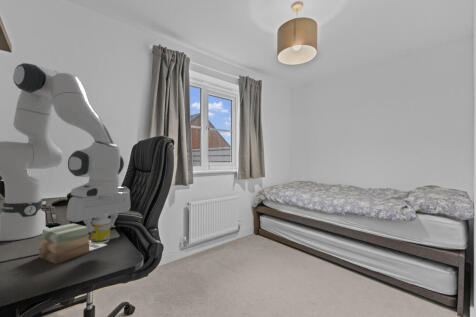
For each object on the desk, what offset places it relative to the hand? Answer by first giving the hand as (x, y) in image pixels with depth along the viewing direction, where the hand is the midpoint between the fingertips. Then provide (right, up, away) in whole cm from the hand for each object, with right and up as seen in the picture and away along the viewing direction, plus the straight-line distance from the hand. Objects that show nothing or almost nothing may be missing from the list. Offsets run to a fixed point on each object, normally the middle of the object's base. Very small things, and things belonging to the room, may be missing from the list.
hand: (100, 229), depth 75 cm
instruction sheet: (-10, -9, +9) cm, 16 cm away
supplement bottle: (0, -4, 0) cm, 5 cm away
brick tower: (-13, -9, 0) cm, 15 cm away
